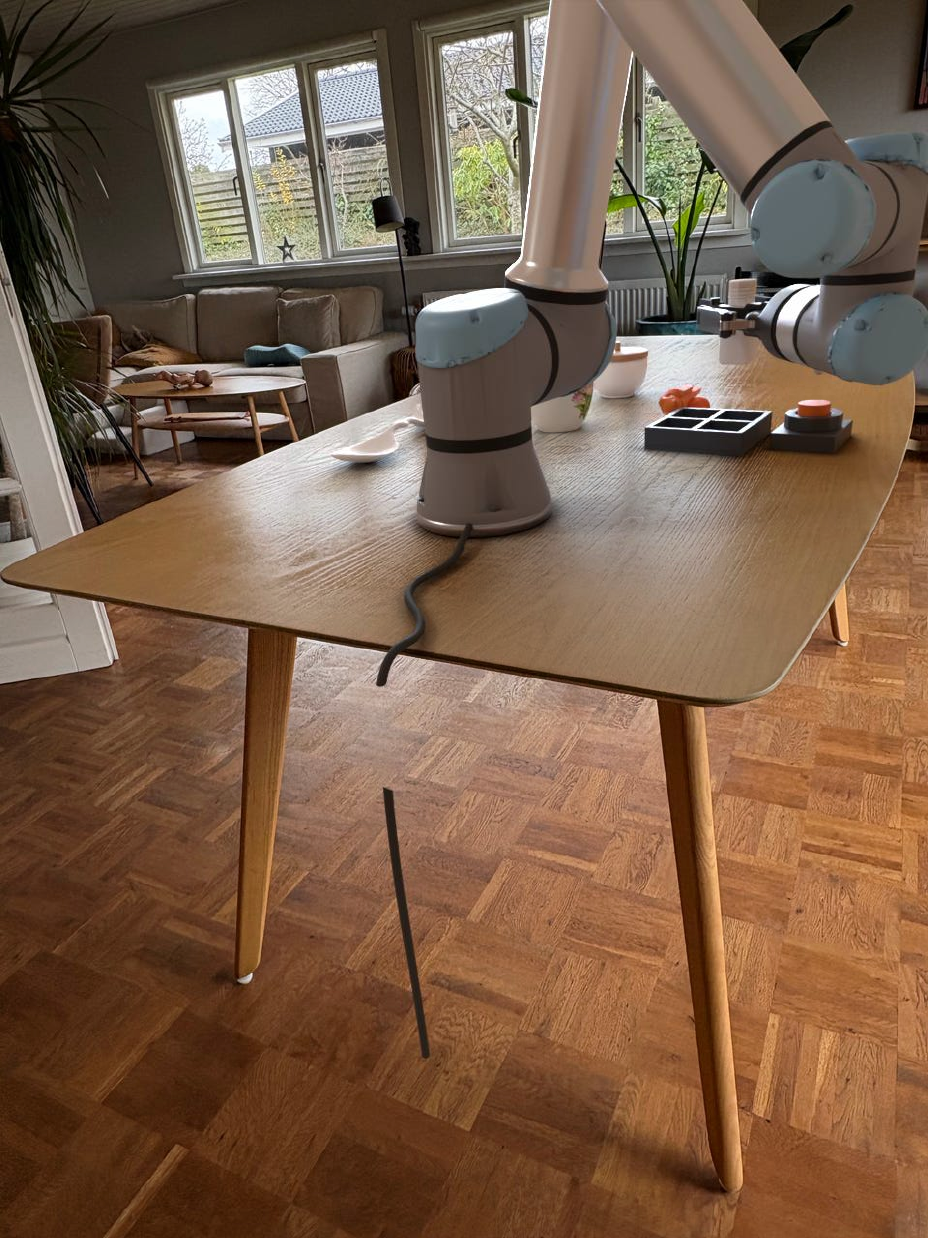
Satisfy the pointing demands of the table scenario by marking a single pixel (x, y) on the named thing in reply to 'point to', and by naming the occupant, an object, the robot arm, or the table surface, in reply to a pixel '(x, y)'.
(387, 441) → the spoon
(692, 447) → the rack
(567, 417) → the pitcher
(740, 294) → the pepper shaker
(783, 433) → the control block
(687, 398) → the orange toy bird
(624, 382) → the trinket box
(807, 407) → the button
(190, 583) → the table surface
